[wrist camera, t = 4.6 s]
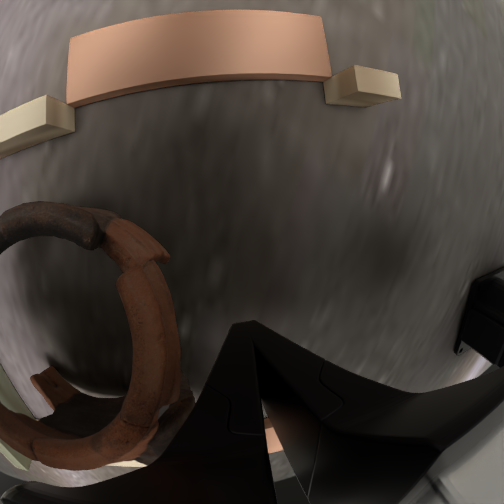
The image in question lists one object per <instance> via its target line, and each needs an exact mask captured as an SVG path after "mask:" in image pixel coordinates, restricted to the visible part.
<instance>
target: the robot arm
mask: <svg viewBox="0 0 504 504" xmlns="http://www.w3.org/2000/svg"><path fill="white" fill-rule="evenodd" d="M470 348H472V349H473V350H475V351H476V352H477V353H479V354H480V355H481V356H482V357H484V358H485V359H486V360H488V361H489V362H490V363H492V364H493V365H495V366H496V365H497V366H498V367H499V369H497V370H495V371H493V372H491V373H488V374H486V375H483V376H480V377H477V378H475V379H472V380H468V381H465V382H462V383H459V384H456V385H452V386H449V387H445V388H442V389H438V390H434V391H430V392H425V393H410V392H405V391H402V390H398V389H395V388H393V387H390V386H387V385H384V384H381V383H378V382H375V381H373V380H370V379H367V378H364V377H362V376H359V375H357V374H354V373H352V372H350V371H347V370H345V369H343V368H341V367H339V366H337V365H335V364H333V363H331V362H329V361H327V360H325V359H323V358H322V357H320V356H318V355H316V354H314V353H312V352H310V351H309V350H307V349H305V348H303V347H301V346H299V345H298V344H296V343H294V342H292V341H290V340H289V339H287V338H285V337H283V336H282V335H280V334H278V333H276V332H275V331H273V330H271V329H269V328H268V327H266V326H264V325H263V324H261V323H259V322H257V321H255V320H252V321H246V322H240V323H234V324H232V326H231V328H230V330H229V332H228V334H227V337H226V339H225V341H224V343H223V346H222V348H221V350H220V352H219V355H218V357H217V359H216V361H215V364H214V366H213V368H212V370H211V372H210V375H209V377H208V379H207V381H206V383H205V386H204V388H203V390H202V392H201V394H200V396H199V398H198V400H197V402H196V404H195V406H194V408H193V409H192V411H191V412H190V414H189V416H188V417H187V419H186V420H185V422H184V423H183V425H182V426H181V427H180V429H179V430H178V432H177V433H176V435H175V436H174V437H173V439H172V440H171V442H170V443H169V445H168V446H167V447H166V449H165V450H164V452H163V453H162V454H161V455H160V456H159V457H158V458H157V459H156V460H155V461H154V462H152V463H151V464H149V465H147V466H145V467H143V468H140V469H137V470H135V471H132V472H129V473H126V474H123V475H121V476H118V477H115V478H112V479H108V480H105V481H102V482H99V483H95V484H92V485H87V486H82V487H58V486H53V485H49V484H45V483H41V482H37V481H29V482H25V483H22V484H19V485H15V486H13V487H11V488H10V489H8V490H7V491H6V492H5V493H4V494H3V495H2V497H1V501H2V503H3V504H278V503H277V498H276V492H275V488H274V482H273V476H272V471H271V465H270V460H269V454H268V447H267V440H266V432H265V425H264V417H263V410H262V404H263V406H264V408H265V410H266V413H267V415H268V417H269V419H270V422H271V424H272V426H273V428H274V430H275V433H276V435H277V437H278V439H279V441H280V443H281V445H282V448H283V450H284V452H285V454H286V456H287V458H288V460H289V462H290V464H291V466H292V468H293V470H294V473H295V475H296V476H297V478H298V481H299V483H300V484H301V486H302V489H303V491H304V492H305V494H306V496H307V498H308V500H309V502H310V504H504V267H503V268H501V269H499V270H497V271H495V272H493V273H490V274H488V275H486V276H484V277H482V278H479V279H477V280H475V282H474V283H473V285H472V289H471V293H470V298H469V302H468V306H467V310H466V314H465V318H464V321H463V325H462V328H461V332H460V335H459V338H458V341H457V344H456V347H455V350H454V353H455V354H456V355H458V356H459V355H461V354H462V353H464V352H465V351H467V350H469V349H470ZM261 401H262V402H261Z"/></svg>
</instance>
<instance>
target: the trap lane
mask: <svg viewBox="0 0 504 504" xmlns="http://www.w3.org/2000/svg"><path fill="white" fill-rule="evenodd" d="M258 79H274V80H303V81H318V82H323V85H324V92H325V101H326V104H336V105H348V106H359V107H368V106H372V105H376V104H380V103H384V102H388V101H392V100H397V99H401V93H400V86H399V80H398V75H397V74H394V73H390V72H386V71H382V70H377V69H372V68H367V67H362V66H357V65H353V66H351V67H349V68H347V69H346V70H344V71H342V72H340V73H338V74H336V75H335V76H333V77H332V75H331V68H330V62H329V56H328V50H327V44H326V39H325V34H324V29H323V24H322V19H321V17H319V16H313V15H306V14H299V13H290V12H279V11H265V10H209V11H194V12H184V13H175V14H167V15H161V16H154V17H149V18H143V19H138V20H133V21H129V22H124V23H120V24H116V25H112V26H108V27H105V28H101V29H97V30H94V31H91V32H88V33H85V34H82V35H79V36H76V37H73V38H70V47H69V57H68V71H67V104H65V103H63V102H61V101H59V100H57V99H55V98H52V97H50V96H48V95H44V96H42V97H39V98H37V99H34V100H32V101H30V102H27V103H25V104H23V105H21V106H19V107H17V108H14V109H12V110H10V111H8V112H6V113H4V114H2V115H0V159H2V158H4V157H6V156H8V155H11V154H13V153H16V152H18V151H21V150H23V149H26V148H28V147H31V146H33V145H36V144H39V143H42V142H44V141H47V140H50V139H53V138H56V137H59V136H62V135H66V134H69V133H72V132H75V111H74V108H76V107H79V106H83V105H86V104H89V103H93V102H97V101H100V100H104V99H108V98H112V97H116V96H121V95H125V94H130V93H135V92H140V91H145V90H150V89H156V88H162V87H169V86H176V85H184V84H192V83H202V82H213V81H228V80H258ZM0 401H1V403H2V404H3V405H4V406H5V407H7V408H8V409H9V410H12V411H13V412H15V413H22V414H25V415H27V416H29V417H31V418H33V419H35V418H34V416H33V415H32V414H31V412H30V411H29V409H28V408H27V407H26V405H25V404H24V402H23V401H22V399H21V398H20V396H19V395H18V393H17V392H16V390H15V388H14V387H13V385H12V384H11V382H10V380H9V379H8V377H7V375H6V373H5V372H4V370H3V368H2V366H1V365H0ZM35 420H37V421H38V420H39V419H35ZM264 425H265V432H266V440H267V447H268V453H272V452H277V451H281V450H283V448H282V445H281V443H280V441H279V439H278V437H277V435H276V433H275V430H274V428H273V426H272V424H271V422H270V419H269V418H266V419H264ZM0 452H1V453H2V454H3V455H4V456H5V457H6V458H7V459H8V460H9V461H10V462H11V463H12V464H13V465H14V466H15V467H17V468H20V469H23V470H26V471H28V470H29V467H30V464H31V461H32V460H31V459H29V458H27V457H26V456H24V455H22V454H21V453H19V452H17V451H16V450H14V449H13V448H11V447H10V446H9V445H8V444H6V443H5V442H4V441H3V440H1V439H0ZM107 465H110V466H133V467H145V466H147V465H144V464H142V463H139V462H137V461H135V460H133V461H123V462H117V463H112V464H107Z"/></svg>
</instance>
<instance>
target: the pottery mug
mask: <svg viewBox="0 0 504 504" xmlns="http://www.w3.org/2000/svg"><path fill="white" fill-rule="evenodd" d="M35 236H55V237H58V238H63V239H67V240H69V241H72V242H74V243H76V244H77V245H79V246H81V247H83V248H84V249H87V250H94V249H97V248H102V249H103V250H104V251H105V252H106V253H107V255H108V256H109V257H110V258H111V259H113V260H114V261H115V262H116V264H117V265H118V266H119V267H120V269H121V271H122V273H123V274H122V275H121V276H120V277H119V278H118V280H117V282H116V288H117V290H118V292H119V295H120V298H121V300H122V303H123V305H124V309H125V312H126V315H127V319H128V322H129V326H130V330H131V336H132V342H133V363H132V375H131V382H130V386H129V390H128V393H127V395H125V396H123V397H119V398H96V397H92V396H89V395H86V394H84V393H81V392H80V391H79V390H77V389H76V388H74V387H73V386H72V385H71V384H70V383H68V382H67V381H66V380H65V379H64V378H63V377H62V376H61V375H60V374H59V373H58V372H57V370H56V369H55V368H54V367H52V366H50V367H49V368H47V369H46V370H44V371H43V372H41V373H40V374H35V375H32V376H31V378H30V380H31V382H32V384H33V385H34V387H35V388H36V389H37V390H38V391H39V392H40V393H41V395H42V396H43V397H44V399H45V400H46V402H47V403H48V404H49V405H50V407H51V408H52V409H53V410H54V412H53V414H52V415H49V416H47V417H44V418H41V419H39V420H38V421H37V420H35V419H33V418H31V417H29V416H27V415H25V414H22V413H15V412H13V411H12V410H9V409H8V408H7V407H5V406H4V405H3V404H2V403H1V401H0V439H1V440H3V441H4V442H5V443H6V444H8V445H9V446H10V447H11V448H13V449H14V450H16V451H17V452H19V453H21V454H22V455H24V456H26V457H27V458H29V459H31V460H35V461H40V462H41V463H42V464H44V465H46V466H49V467H53V468H58V469H67V470H73V471H75V470H90V469H96V468H99V467H102V466H105V465H107V464H112V463H117V462H123V461H133V460H135V461H137V462H139V463H142V464H144V465H149V464H151V463H152V462H154V461H155V460H156V459H157V458H158V457H159V456H160V455H161V454H162V453H163V452H164V450H165V449H166V447H167V446H168V445H169V443H170V442H171V440H172V439H173V437H174V436H175V435H176V433H177V432H178V430H179V429H180V427H181V426H182V425H183V423H184V422H185V420H186V419H187V417H188V416H189V414H190V412H191V411H192V409H193V408H194V406H195V404H196V403H195V398H194V396H193V392H192V391H191V390H190V387H189V381H188V379H187V378H186V377H185V375H184V374H183V372H181V369H180V360H181V348H180V341H179V336H178V329H177V324H176V319H175V311H174V304H173V301H172V298H171V294H170V291H169V288H168V286H167V283H166V281H165V278H164V276H163V274H162V272H161V270H160V268H159V266H158V265H157V264H156V261H158V262H160V263H163V264H166V263H167V262H168V261H169V259H170V255H169V253H168V252H167V251H166V250H165V248H164V247H162V246H161V244H160V243H159V242H157V241H156V240H155V239H154V238H153V237H152V236H151V235H150V234H149V233H147V232H146V231H145V230H143V229H142V228H140V227H139V226H137V225H136V224H134V223H132V222H131V221H129V220H124V219H121V217H120V215H119V214H117V213H115V212H113V211H109V210H104V209H98V208H91V207H78V206H71V205H68V204H64V203H53V202H44V201H38V202H30V203H23V204H21V205H18V206H16V207H13V208H11V209H9V210H7V211H5V212H4V213H3V214H2V215H1V216H0V254H1V253H2V252H3V251H5V250H6V249H7V248H9V247H10V246H12V245H13V244H15V243H16V242H18V241H21V240H24V239H27V238H31V237H35Z"/></svg>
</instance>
